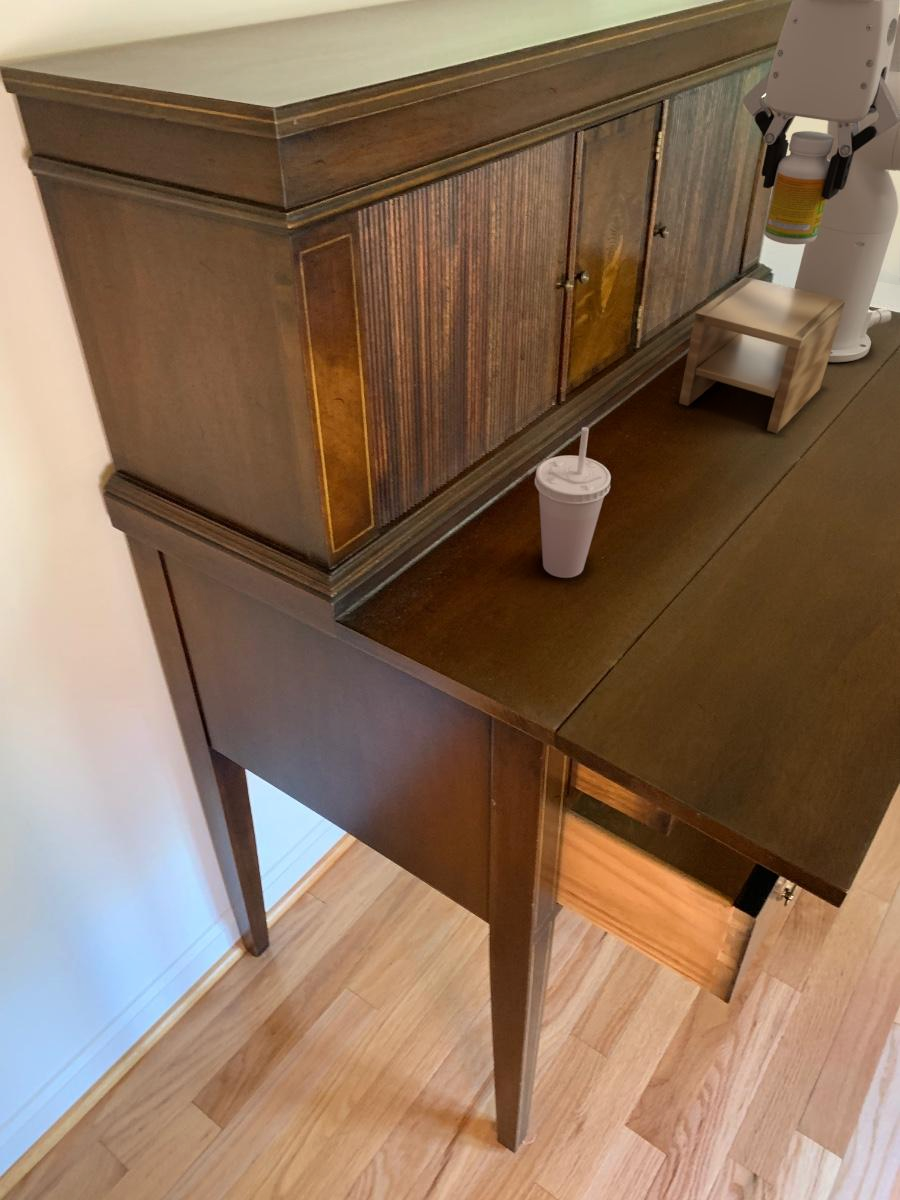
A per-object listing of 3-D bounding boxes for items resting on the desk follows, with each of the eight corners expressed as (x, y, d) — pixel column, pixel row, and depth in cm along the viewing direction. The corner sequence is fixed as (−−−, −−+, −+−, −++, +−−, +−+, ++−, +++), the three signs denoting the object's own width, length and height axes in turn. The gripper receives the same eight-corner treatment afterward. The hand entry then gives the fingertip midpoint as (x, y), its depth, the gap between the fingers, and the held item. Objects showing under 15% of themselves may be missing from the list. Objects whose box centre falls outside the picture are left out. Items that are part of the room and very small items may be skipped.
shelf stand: (727, 362, 117) (745, 276, 110) (819, 389, 111) (845, 300, 104) (678, 403, 108) (695, 312, 101) (776, 433, 103) (801, 340, 96)
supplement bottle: (819, 247, 94) (845, 144, 88) (765, 244, 95) (787, 141, 88) (812, 229, 98) (837, 130, 92) (760, 226, 99) (781, 127, 92)
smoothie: (595, 591, 80) (615, 451, 72) (523, 581, 81) (534, 443, 73) (601, 549, 85) (620, 413, 76) (532, 540, 86) (544, 405, 77)
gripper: (962, -22, 80) (897, 196, 92) (773, -35, 88) (735, 167, 99) (939, -12, 75) (874, 216, 87) (742, -27, 83) (706, 184, 95)
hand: (800, 188), depth 93 cm, fingers closed on supplement bottle, 5 cm apart
